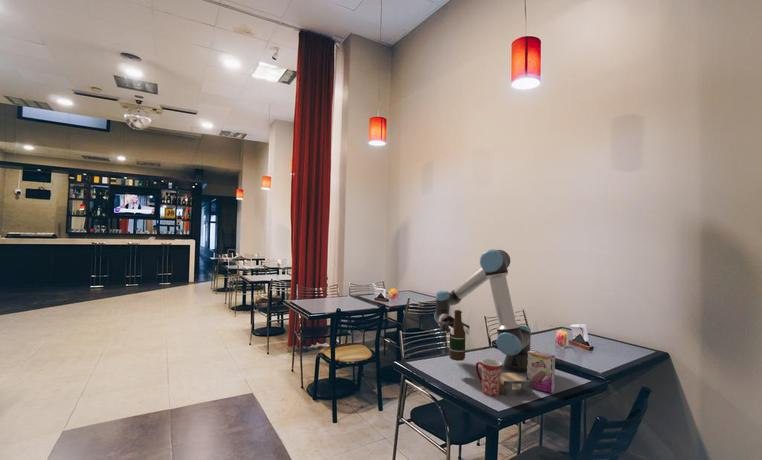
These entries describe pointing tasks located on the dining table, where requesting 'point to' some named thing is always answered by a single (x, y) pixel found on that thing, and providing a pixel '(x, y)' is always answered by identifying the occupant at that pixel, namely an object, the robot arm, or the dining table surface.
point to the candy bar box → (541, 370)
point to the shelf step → (514, 385)
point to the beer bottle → (457, 339)
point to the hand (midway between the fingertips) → (460, 331)
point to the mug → (490, 376)
